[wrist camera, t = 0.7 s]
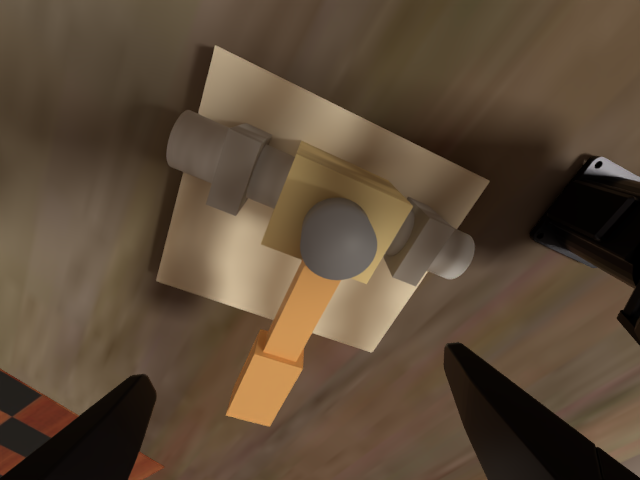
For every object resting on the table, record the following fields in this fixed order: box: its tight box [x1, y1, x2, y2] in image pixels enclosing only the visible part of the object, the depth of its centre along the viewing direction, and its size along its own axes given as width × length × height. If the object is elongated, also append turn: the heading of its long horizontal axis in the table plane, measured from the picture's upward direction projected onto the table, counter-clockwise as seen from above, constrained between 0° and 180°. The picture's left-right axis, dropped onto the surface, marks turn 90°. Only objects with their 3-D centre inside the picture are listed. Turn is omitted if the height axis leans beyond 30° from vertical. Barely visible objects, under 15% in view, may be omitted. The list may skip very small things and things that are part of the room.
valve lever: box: [226, 198, 377, 427], centre depth 15 cm, size 3×14×2 cm, turn 156°
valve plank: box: [156, 45, 490, 353], centre depth 18 cm, size 18×16×7 cm
